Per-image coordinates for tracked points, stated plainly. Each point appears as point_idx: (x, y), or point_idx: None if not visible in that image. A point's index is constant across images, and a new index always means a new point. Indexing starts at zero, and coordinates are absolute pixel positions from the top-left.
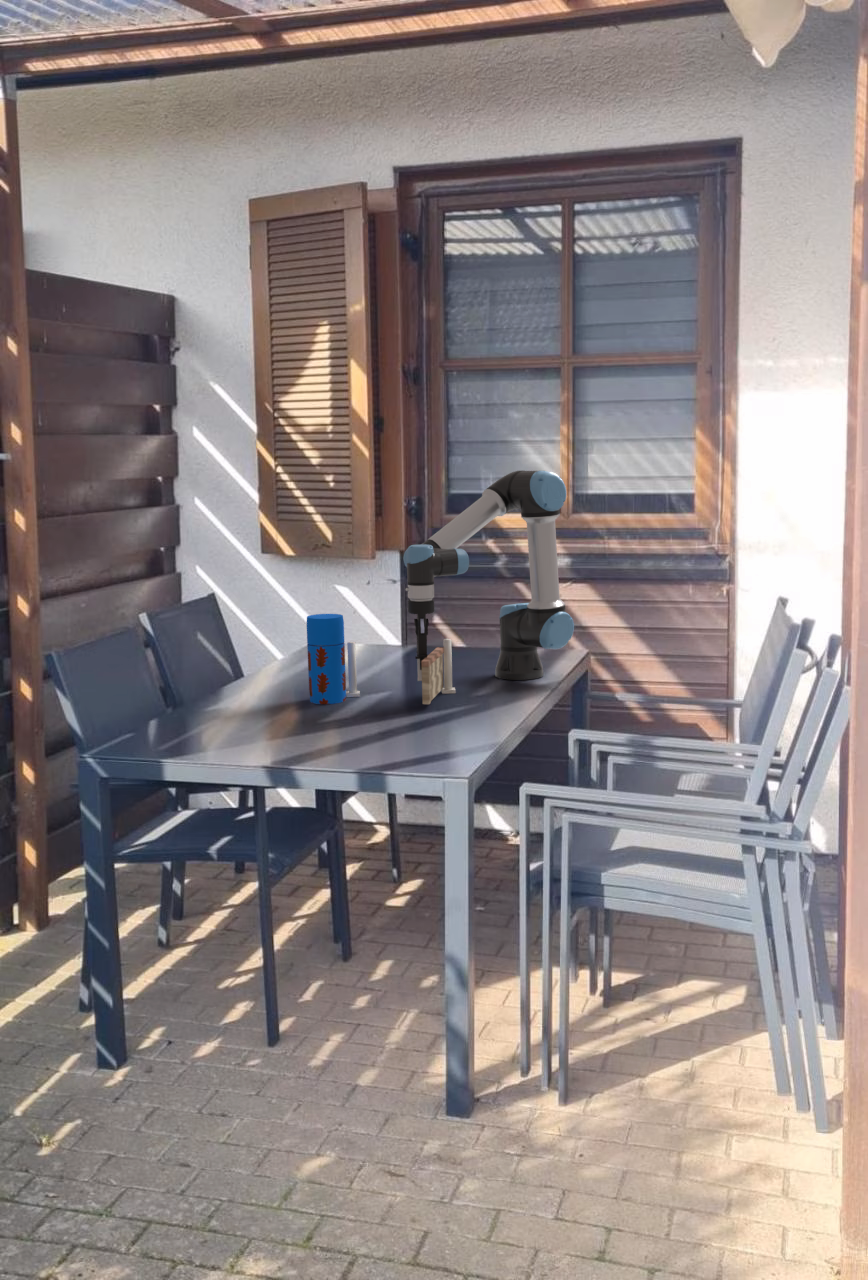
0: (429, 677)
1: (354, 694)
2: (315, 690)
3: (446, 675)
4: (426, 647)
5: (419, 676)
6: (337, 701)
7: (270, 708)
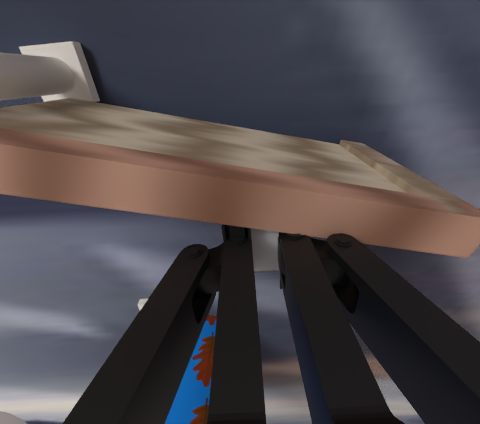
0: (406, 174)
1: None
2: None
3: (33, 85)
4: (414, 291)
5: None
6: None
7: (263, 385)
